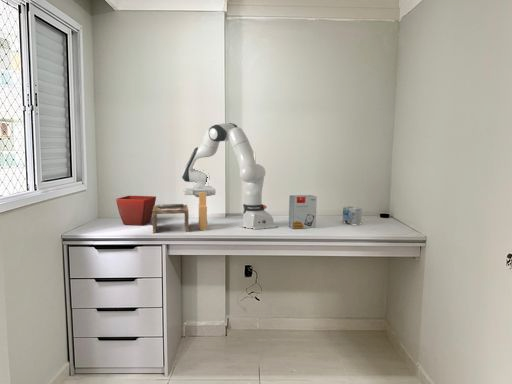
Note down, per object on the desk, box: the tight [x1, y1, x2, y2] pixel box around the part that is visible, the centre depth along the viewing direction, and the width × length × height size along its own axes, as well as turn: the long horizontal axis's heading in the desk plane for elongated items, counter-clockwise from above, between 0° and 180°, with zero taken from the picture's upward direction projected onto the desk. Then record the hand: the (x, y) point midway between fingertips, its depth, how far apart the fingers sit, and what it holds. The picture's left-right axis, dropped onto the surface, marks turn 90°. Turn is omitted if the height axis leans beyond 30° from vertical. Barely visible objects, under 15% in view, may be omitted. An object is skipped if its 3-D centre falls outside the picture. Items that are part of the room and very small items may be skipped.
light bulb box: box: [341, 205, 363, 225], centre depth 246 cm, size 11×7×11 cm, turn 37°
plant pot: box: [115, 195, 157, 226], centre depth 239 cm, size 19×19×17 cm
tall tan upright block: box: [198, 192, 208, 231], centre depth 227 cm, size 4×12×22 cm, turn 13°
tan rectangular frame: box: [152, 203, 190, 234], centre depth 223 cm, size 20×20×15 cm
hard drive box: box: [288, 194, 318, 230], centre depth 232 cm, size 16×8×20 cm, turn 105°
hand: (200, 193), depth 238 cm, fingers open, 8 cm apart
